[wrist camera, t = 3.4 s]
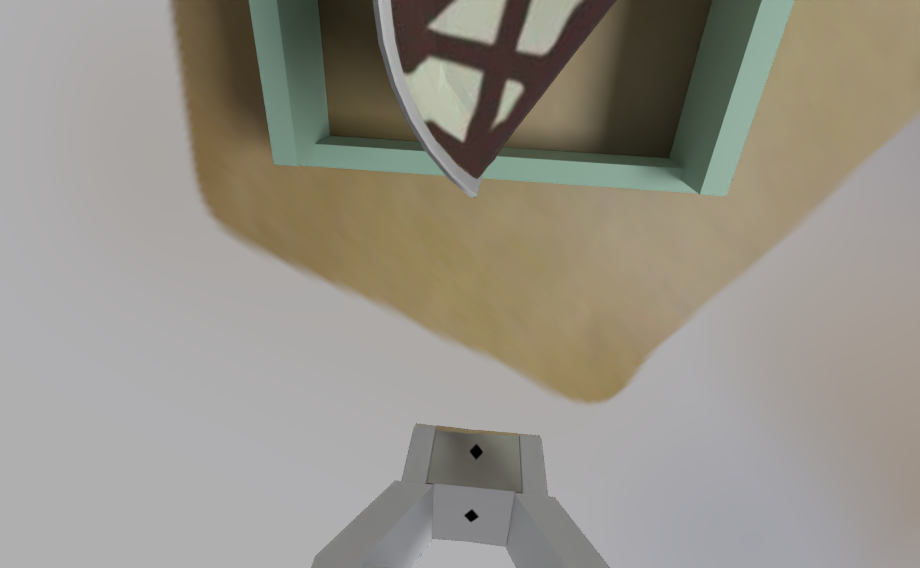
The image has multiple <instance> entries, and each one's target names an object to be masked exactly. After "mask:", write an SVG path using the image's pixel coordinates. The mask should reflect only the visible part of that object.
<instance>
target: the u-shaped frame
mask: <svg viewBox="0 0 920 568" xmlns="http://www.w3.org/2000/svg"><path fill="white" fill-rule="evenodd" d="M794 1H795V0H712V3H711V6H710V10H709V14H708V17H707V21H706V25H705V28H704V32H703V36H702V39H701V43H700V47H699V50H698V54H697V57H696V61H695V65H694V68H693V72H692V76H691V79H690V83H689V87H688V90H687V94H686V98H685V101H684V105H683V109H682V112H681V116H680V120H679V123H678V127H677V131H676V134H675V138H674V142H673V145H672V149H671V152H670V156H669V158H657V157H643V156H628V155H613V154H598V153H583V152H568V151H553V150H538V149H523V148H508V147H502V148H501V150H500V152H499V153H498V155H497V157H496V159H495V160H494V161H493V162H492V163H491V164H490V165H489V166H488V167H487V168H486V170H485V171H484V173H483V177H482V178H486V179H501V180H515V181H529V182H543V183H557V184H572V185H586V186H600V187H614V188H628V189H643V190H657V191H671V192H685V193H698V194H700V195H714V196H726V195H727V192H728V189H729V187H730V184H731V181H732V178H733V175H734V172H735V169H736V167H737V164H738V161H739V158H740V155H741V152H742V149H743V147H744V144H745V141H746V138H747V135H748V132H749V129H750V127H751V124H752V121H753V118H754V115H755V112H756V109H757V107H758V104H759V101H760V98H761V95H762V92H763V89H764V87H765V84H766V81H767V78H768V75H769V72H770V69H771V66H772V64H773V61H774V58H775V55H776V52H777V49H778V46H779V44H780V41H781V38H782V35H783V32H784V29H785V26H786V24H787V21H788V18H789V15H790V12H791V9H792V6H793V4H794ZM249 6H250V13H251V19H252V26H253V32H254V39H255V45H256V52H257V58H258V65H259V71H260V78H261V84H262V91H263V97H264V104H265V110H266V117H267V123H268V130H269V136H270V143H271V149H272V156H273V162H274V165H288V166H299V165H301V166H316V167H330V168H344V169H358V170H373V171H387V172H401V173H415V174H429V175H444V176H446V175H445V174H444V173H443V172H442V170H441V169H440V168H439V167H438V166H437V164H436V163H435V162H434V161H433V160H432V159H431V157H430V156H429V155H428V154H427V153H426V151H425V150H424V149H423V147H422V145H421V144H420V142H418V141H403V140H388V139H373V138H358V137H343V136H330V129H329V118H328V107H327V96H326V85H325V74H324V62H323V51H322V40H321V29H320V18H319V7H318V0H249Z"/></svg>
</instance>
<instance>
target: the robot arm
mask: <svg viewBox="0 0 920 568" xmlns="http://www.w3.org/2000/svg"><path fill="white" fill-rule="evenodd" d="M431 539H442V540H455V541H468V542H475V543H482V544H490V545H496V546H504V547H506V549H507V551H508V553H509V555H510V557H511V559H512V561H513V563H514V564H515V567H516V568H610V567H609V566H608V564H607V563H606V562H605V561H604V559H603V558H602V557H601V556H600V554H599V553H598V552H597V550H596V549H595V548H594V547H593V545H592V544H591V543H590V542H589V540H588V539H587V538H586V537H585V535H584V534H583V533H582V531H581V530H580V529H579V528H578V526H577V525H576V524H575V522H574V521H573V520H572V519H571V517H570V516H569V515H568V514H567V512H566V511H565V510H564V508H563V507H562V506H561V505H560V503H559V502H558V501H557V500H556V498H555V497H550V496H548V491H547V482H546V474H545V465H544V456H543V447H542V439H541V437H540V436H539V435H527V434H519V435H518V434H517V433H505V432H494V431H482V430H468V429H461V428H453V427H444V426H433V425H425V424H417V423H416V425H415V426H414V429H413V433H412V438H411V441H410V446H409V450H408V455H407V459H406V464H405V468H404V472H403V476H402V481H394V482H393V483H392V484H391V485H390V486H389V487H388V488H387V489H386V490H385V491H384V492H383V493H382V494H380V495H379V496H378V497H377V498H376V499H375V500H374V501H373V502H372V503H371V504H370V505H369V506H368V507H367V508H366V509H365V510H364V511H362V512H361V513H360V514H359V515H358V516H357V517H356V518H355V519H354V520H353V521H352V522H351V523H350V524H349V525H348V526H347V527H346V528H345V529H343V530H342V531H341V532H340V533H339V534H338V535H337V536H336V537H335V538H334V539H333V540H332V541H331V542H330V543H329V544H328V545H327V546H326V547H324V548H323V549H322V550H321V551H320V552H319V553H318V554H317V555H316V556H315V558H314V561H313V564H312V567H311V568H412V567H413V566H414V564H415V563H416V561H417V560H418V559H419V557H420V556H421V555H422V553H423V552H424V551H425V549H426V548H427V547H428V545H429V544H430V543H431Z"/></svg>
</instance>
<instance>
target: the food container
mask: <svg viewBox="0 0 920 568" xmlns="http://www.w3.org/2000/svg"><path fill="white" fill-rule="evenodd" d="M615 2H616V0H373V7H374V14H375V22H376V29H377V36H378V43H379V47H380V50H381V54H382V57H383V61H384V64H385V68H386V72H387V75H388V79H389V82H390V85H391V87H392V90H393V92H394V94H395V96H396V99H397V101H398V103H399V106H400V108H401V110H402V113H403V115H404V117H405V119H406V121H407V123H408V124H409V126H410V127H411V129H412V131H413V132H414V134H415V136H416V137H417V139H418V140H419V142H420V144H421V145H422V147H423V149H424V150H425V151H426V153H427V154H428V155H429V156H430V157H431V159H432V160H433V161H434V162H435V163H436V164H437V166H438V167H439V168H440V169H441V170H442V172H443V173H444V174H445V175H446V176H447V177H448V178H449V179H450V180H451V181H452V182H453V183H454V184H456V185H457V186H458V187H459V188H460V189H461V190H462V191H464V192H465V193H466V194H467V195H468V196H469V197H470V198H471V197H472V196H474V197H476V196H477V194H478V190H479V187H480V183H481V180H482V177H483V173H484V171H485V170H486V168H487V167H488V166H489V165H490V164H491V163H492V162H493V161H494V160H495V159H496V157H497V155H498V153H499V152H500V150H501V148H502V147H503V146H504V144H505V143H506V141H507V140H508V139H509V137H510V136H511V135H512V133H513V132H514V131H515V129H516V128H517V127H518V126H519V124H520V123H521V122H522V121H523V119H524V118H525V117H526V115H527V114H528V113H529V112H530V110H531V109H532V108H533V106H534V105H535V104H536V103H537V101H538V100H539V99H540V97H541V96H542V95H543V94H544V92H545V91H546V90H547V88H548V87H549V86H550V84H551V83H552V82H553V81H554V79H555V78H556V77H557V75H558V74H559V73H560V71H561V70H562V69H563V68H564V66H565V65H566V64H567V62H568V61H569V60H570V59H571V57H572V56H573V55H574V53H575V52H576V51H577V50H578V48H579V47H580V46H581V45H582V43H583V42H584V41H585V40H586V38H587V37H588V36H589V35H590V33H591V32H592V31H593V29H594V28H595V27H596V26H597V24H598V23H599V22H600V21H601V19H602V18H603V17H604V16H605V14H606V13H607V12H608V11H609V9H610V8H611V7H612V5H613V4H614V3H615Z"/></svg>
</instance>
